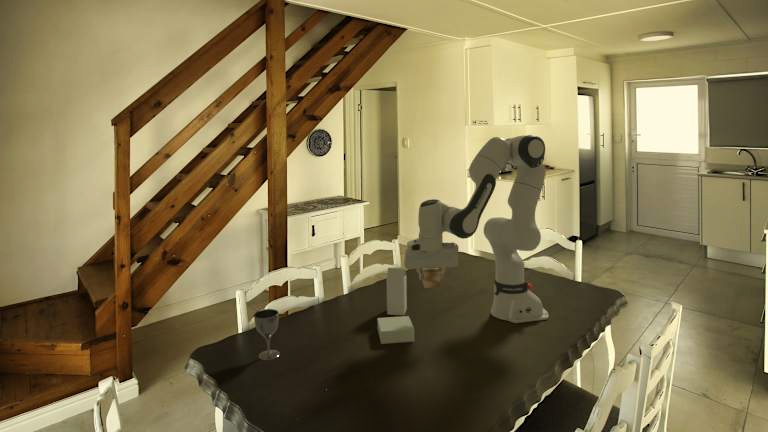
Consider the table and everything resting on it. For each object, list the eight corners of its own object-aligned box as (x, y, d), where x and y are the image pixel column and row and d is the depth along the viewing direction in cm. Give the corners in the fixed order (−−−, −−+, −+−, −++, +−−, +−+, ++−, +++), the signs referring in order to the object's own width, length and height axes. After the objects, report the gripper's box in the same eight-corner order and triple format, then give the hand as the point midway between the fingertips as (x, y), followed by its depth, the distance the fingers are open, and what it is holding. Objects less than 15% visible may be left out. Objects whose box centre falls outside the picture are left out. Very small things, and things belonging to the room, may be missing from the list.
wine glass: (269, 347, 164) (267, 307, 162) (285, 353, 160) (283, 312, 157) (252, 356, 158) (248, 315, 155) (268, 363, 153) (265, 320, 151)
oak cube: (438, 281, 180) (437, 266, 178) (440, 287, 174) (440, 271, 172) (422, 282, 179) (422, 267, 178) (424, 287, 173) (424, 272, 172)
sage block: (408, 328, 179) (408, 316, 178) (414, 342, 167) (414, 329, 166) (377, 330, 177) (377, 318, 176) (381, 344, 166) (380, 331, 165)
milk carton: (404, 315, 190) (403, 271, 186) (387, 314, 191) (386, 270, 188) (406, 309, 197) (406, 265, 193) (390, 308, 198) (389, 265, 194)
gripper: (456, 240, 177) (456, 274, 179) (403, 242, 176) (404, 277, 179) (460, 244, 171) (460, 280, 173) (404, 246, 170) (405, 282, 173)
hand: (431, 278), depth 176 cm, fingers closed on oak cube, 6 cm apart
